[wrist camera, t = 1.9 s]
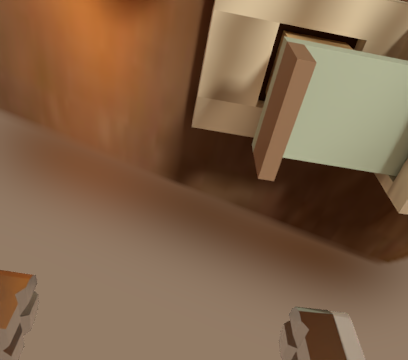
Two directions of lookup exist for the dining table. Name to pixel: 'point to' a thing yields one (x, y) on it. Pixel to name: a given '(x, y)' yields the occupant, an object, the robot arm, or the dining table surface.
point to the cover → (333, 110)
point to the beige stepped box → (261, 51)
